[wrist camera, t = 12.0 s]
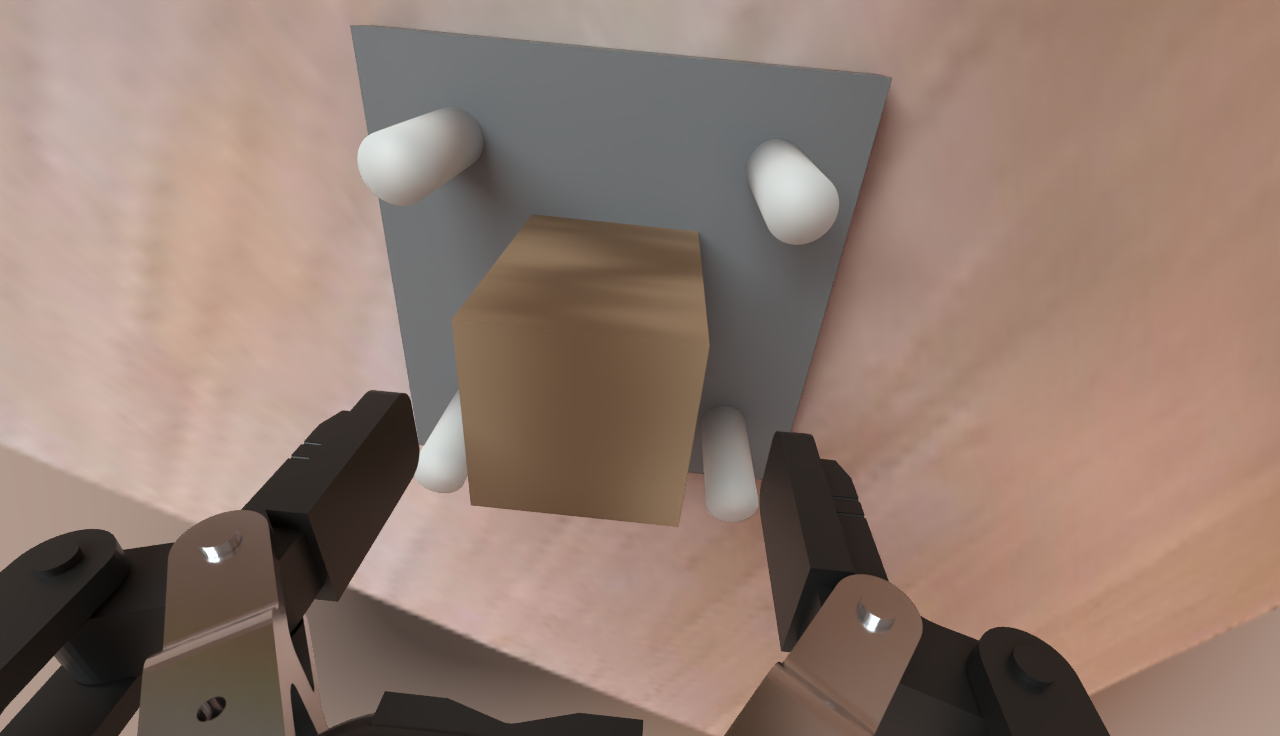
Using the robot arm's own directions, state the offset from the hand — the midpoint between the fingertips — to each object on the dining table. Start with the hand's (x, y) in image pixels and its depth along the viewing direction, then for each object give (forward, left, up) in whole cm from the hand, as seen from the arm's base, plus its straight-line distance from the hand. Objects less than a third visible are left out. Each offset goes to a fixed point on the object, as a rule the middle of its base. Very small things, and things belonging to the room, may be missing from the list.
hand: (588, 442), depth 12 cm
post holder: (0, 0, -8) cm, 8 cm away
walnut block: (0, 0, -7) cm, 7 cm away
